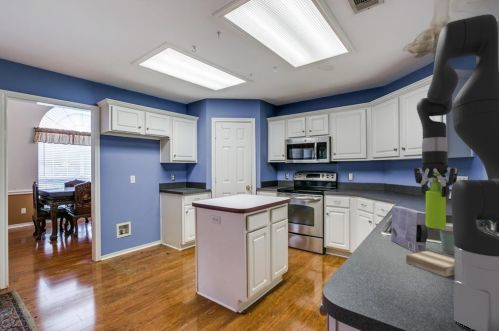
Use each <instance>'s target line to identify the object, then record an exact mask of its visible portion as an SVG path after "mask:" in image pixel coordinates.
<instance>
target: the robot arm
mask: <svg viewBox="0 0 499 331" xmlns="http://www.w3.org/2000/svg"><path fill="white" fill-rule="evenodd" d="M471 56H475V61H476V62H475V67H474V70H473V71H472V73H471V75H470V76H469V77H468V79H467V81H466V82H465V83H464V85H463V86H462V87H461V89H459V91H458V93H457V94H456V96H455V97H454V99H453V94H454V93H455V90H456V88H457V86H458V84H459V76H458V72H457V71H456V70H455V69H454V67H453V66H452V65H451V64H450V62H449V60H450V59H458V58H466V57H471ZM416 111H417V114H418V117H419V120H420V125H421V127H422V128H421V129H422V143H421V163H422V166H421V167H414V168H413V172H414V178H415V182H416V184H419V185H420V186H421V187H420V188H421V194H422V195H423V196H426V191H429V184H430V182H431V181H432V180H433V177H434V178H438V181H439V182H441V191H442V197H446V198H448V197H449V196H450V202H451V203H450V205H451V206H450V207H451V217H452V219H451V220H452V224H453V235H454V255H453V256H454V257H453V258H454V275H453V277H454V281H453V321H454V320H455V321H457V322H459V323H461V324H463V325H465V326H467V327H469V328H471V329H475V330H477V331H499V236H497V235H493V234H491V233H488V232H485V231H483V230H482V229H480V228H479V227H478V224H477V221H487V222H488V221H489V222H490V221H491V222H499V25H498V20H497V18H496V16H494V15H493V14H489V13H488V14H480V15H477V16H472V17H467V18H463V19H457V20H454V21H450V22H448V23H446V24H445V25H444V26H443V27H442V29H441V30H440V32H439V35H438V40H437V44H436V50H435V58H434V63H433V71H432V77H431V81H430V84H429V86H428V90H427V93H426V97H423V98H420V99H419V100H418V102H417V103H416ZM450 112H452V113H451V114H452V121H453V122H452V124H453V125H452V126H453V129H454V132H455V133H456V135H457V136H458V138H460V139H461V141H462V142H464V144H465V145H466V146H467V147H468V148H469V149H470V150H471V151H472V152H473V153H474V154H476V156H477V157H478V158H479V160H480V162H481V163H482V165H483V167H484V169H485V172H486V176H487V179H460V180H458V173H459V168H458V167H449V165H448V162H449V159H448V156H449V155H448V154H449V152H448V149H449V147H448V139H447V124H446V122H443V121H437V120H433V119H431V117H438V116H440V117H441V116H446V115H448V114H449V113H450ZM423 173H424V174H423ZM433 173H436V174H441V176H434V175H433ZM446 173H448V176H447V174H446ZM451 186H452V187H451ZM450 188H451V190H450Z"/></svg>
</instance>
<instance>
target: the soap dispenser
mask: <svg viewBox="0 0 499 331" xmlns="http://www.w3.org/2000/svg"><path fill="white" fill-rule="evenodd" d="M433 175H434V176H441V174H436V173H433ZM446 201H447V197H442V184H441V182H440V181H439V180H438V178H434V177H433V178H432V180H430V181H429V190H428V191H426V195H425V213H426V227H427V228H428V229H429V228H430V229H437V230H440V229H446V223H447V222H446V221H447V210H446V209H447V205H446V204H447V202H446Z"/></svg>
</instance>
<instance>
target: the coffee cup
mask: <svg viewBox="0 0 499 331" xmlns="http://www.w3.org/2000/svg"><path fill="white" fill-rule="evenodd" d="M439 236H440V241H441V249H442V252H443V253H444V254H448V255H453V256H454V235H453V222H452V223H450V222H446V229H439Z"/></svg>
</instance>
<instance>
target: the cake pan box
mask: <svg viewBox="0 0 499 331" xmlns="http://www.w3.org/2000/svg"><path fill="white" fill-rule="evenodd" d="M391 211H392V212H391V231H390V233H391V234H390V240H391V242H394V243H395V244H398V245H399V246H401V247H403V248H405V249H407V250H410V251H411V252H412V253H413V252H414V253H419V252H424V251H427V250H426V248H427V245H426V244H427V241H428V234H429V231H428V227H426V212H422V211H419V210H417V209H416V210H415V209H412V208H407V207H404V206H401V205H393V206H392V210H391ZM414 253H413V254H414Z"/></svg>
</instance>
